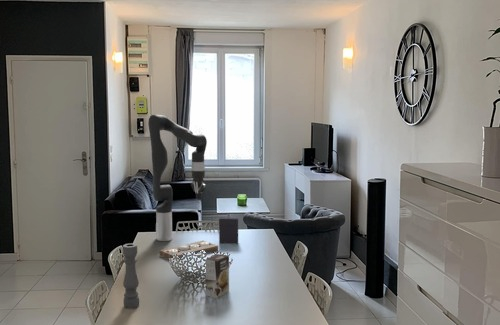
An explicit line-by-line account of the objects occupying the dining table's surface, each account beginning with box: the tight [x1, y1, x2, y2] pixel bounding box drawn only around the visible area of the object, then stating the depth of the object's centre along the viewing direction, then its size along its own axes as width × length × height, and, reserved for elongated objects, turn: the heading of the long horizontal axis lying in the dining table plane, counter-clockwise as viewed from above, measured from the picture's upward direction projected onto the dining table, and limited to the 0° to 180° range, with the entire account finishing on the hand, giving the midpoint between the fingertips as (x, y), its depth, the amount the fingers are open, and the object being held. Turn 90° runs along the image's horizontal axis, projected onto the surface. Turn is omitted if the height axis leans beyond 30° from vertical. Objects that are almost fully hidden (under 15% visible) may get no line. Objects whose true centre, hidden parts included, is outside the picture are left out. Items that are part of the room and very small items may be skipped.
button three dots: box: [190, 245, 199, 249], centre depth 271 cm, size 5×5×3 cm
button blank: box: [179, 244, 189, 251], centre depth 266 cm, size 5×5×2 cm
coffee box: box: [205, 253, 230, 299], centre depth 210 cm, size 9×6×16 cm
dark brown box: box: [218, 217, 239, 245], centre depth 288 cm, size 11×4×15 cm, turn 84°
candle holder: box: [122, 242, 140, 310], centre depth 196 cm, size 6×6×25 cm
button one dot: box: [200, 241, 210, 246], centre depth 275 cm, size 5×5×3 cm
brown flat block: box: [159, 240, 219, 260], centre depth 268 cm, size 14×29×3 cm, turn 132°
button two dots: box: [169, 249, 178, 254], centre depth 261 cm, size 5×5×3 cm
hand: (198, 199), depth 281 cm, fingers closed
